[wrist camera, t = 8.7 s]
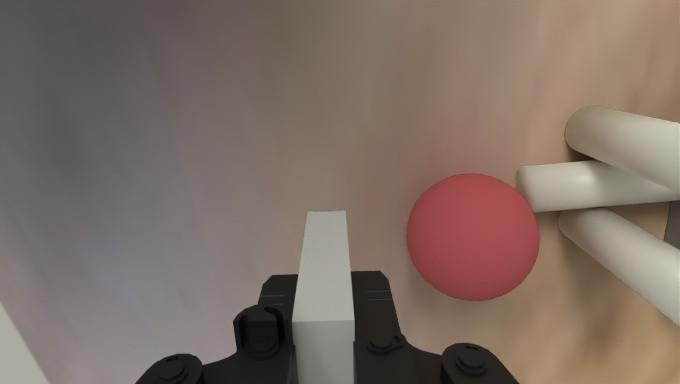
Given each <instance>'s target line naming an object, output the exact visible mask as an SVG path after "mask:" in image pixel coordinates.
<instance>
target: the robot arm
mask: <svg viewBox="0 0 680 384" xmlns="http://www.w3.org/2000/svg"><path fill="white" fill-rule="evenodd" d="M233 325H234V332H235V339H236V346H237V351H236V353H235V354H233V355H231V356H230V357H228V358H225V359H222V360H220V361H216V362H213V363H209V364H205V365H202V362H201V361H200V360H199V359H198V358H197V357H196V356H193V355H191V354H175V355H172V356H168V357H165V358H163V359H162V360H160V361H158V362H156V363H155V364H153V365H152V366H151V367H150V368H149V369H148V370H147V371H146V372H145V373H144V374H143V375H142V376H141V378H140V379H139V380H138V381H137V382H136V383H135V384H519V383H518V381H517V380H516V379H515V378H514V377H513V376H512V374H511V373H510V372H509V371H508V370H507V369H506V367H505V366H504V365H503V364H502V363H501V362H500V360H499V359H498V358H497V357H496V356H495V355H494V354H492V353H491V352H490V351H489V350H487V349H485V348H483V347H481V346H479V345H475V344H470V343H456V344H454V345H451V346H449V347H447V348H446V350H445V351H444V352H443V354H442V355H438V354H434V353H429V352H425V351H422V350H419V349H417V348H415V347H413V346H412V345H411V344H409V343H408V342H407V340H406V338H405V336H403V335H402V334H401V331H400V327H399V323H398V319H397V314H396V310H395V306H394V302H393V298H392V293H391V289H390V285H389V281H388V279H387V278H386V277H385V276H384V274H383V273H382V272H381V271H352V272H351V271H350V259H349V247H348V234H347V222H346V211H321V212H307V218H306V225H305V232H304V239H303V246H302V253H301V260H300V267H299V274H292V275H272V276H271V277H270V278H269V279H268V280H267V281H266V282H265V283H264V284H263V287H262V290H261V294H260V297H259V301H258V305H254V306H251V307H249V308H246V309H244V310H243V311H242V312H240V313H239V314H238V315H237V316H236V318H235V319H234V321H233Z"/></svg>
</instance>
